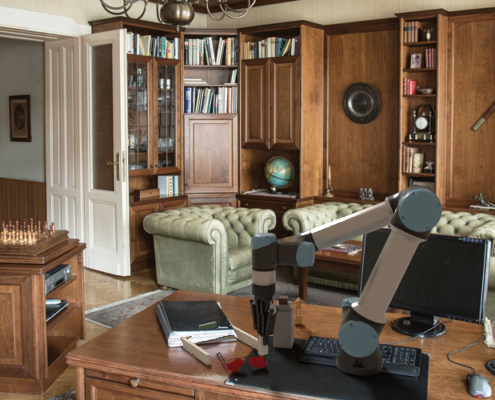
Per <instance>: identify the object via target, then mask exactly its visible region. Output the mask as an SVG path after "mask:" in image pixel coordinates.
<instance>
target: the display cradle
mask: <svg viewBox="0 0 495 400" xmlns="http://www.w3.org/2000/svg"><path fill="white" fill-rule="evenodd" d="M217 324H218V323H217V321H211V322H207V323H202V324H198V330H199V329H200V330H201V329H208V328H214V327H218V326H217ZM231 325H232V326H233V328H234V332H235V333H236V335H237V337H238V339H237V340H239V341H240V342H243V343H244V344H246V345H247V346H250V347H251V348H253V349H254V348H256V349H257V350H258V345H259V343H258V337H255V336H253V335H251V334H250V333H247V332H246V331H244V330H243V329H240V328H239V327H236V326H234V324H231ZM185 336H186V337H183V336H180V337H179V339H180V340H181V341H182V343H183V347H184V348H185V349H186V350H187V351H186V350H185V349H184V348H183V349H184V350H185V351H186V352H188V351H189V352H190V353H189V352H188V353H189V354H191V355H192V354H193V355H192V356H194V357H195V358H196V359H197V360H199V361H201V362H202V363H204V364H205V365H206V366H209V365H211V354H210V353H209V352H207V351H206V350H204V349H203V348H201V347H200V346H198V345H197V344H194V343H192V342H191V341H189V340H188V339H189V338H191V337H192V336H188V335H185ZM180 340H179V341H180ZM256 349H255V350H256Z"/></svg>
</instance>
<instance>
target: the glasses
mask: <svg viewBox="0 0 495 400" xmlns="http://www.w3.org/2000/svg"><path fill="white" fill-rule="evenodd" d="M255 351H256V352H257V353H258V350H257V349H256V348H253V350H252V352H255ZM216 356H220V357H221V360H222V361H223V363H224V365H225V366H226V370H228V371H230V372H232V373H236V372H238V371H239V370H240V368H241V367H243V366H244V364H245V363H246V361H245V360H243V359H246V358H248V362H247V363H248V365H249V366H250V367H254V368H259V369H264V368H265V367H266V365H267V363H268V361H266V360H267V359H266V357H265V355H262V356H261V355H259V354H258V355H251V356H249V357H248V356H243V357H235V358H231V359H229V360H227V362H226V360H225V359H224V357H223V355H222V353H221V352H217V353H216Z"/></svg>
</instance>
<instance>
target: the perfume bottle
mask: <svg viewBox="0 0 495 400" xmlns="http://www.w3.org/2000/svg"><path fill="white" fill-rule="evenodd" d="M291 303H292V300H289V295H279V296H278V300H276V302H275V303H274V307H275V308H278V313H277V315H276V320H275V326H274V332H273V335H272V344H273V345H272V347H273V348H277V349H278V348H279V349H293V345H294V344H295V343H294V342H295V323H294V316H295V306H292V304H291Z"/></svg>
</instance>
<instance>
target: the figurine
mask: <svg viewBox="0 0 495 400" xmlns="http://www.w3.org/2000/svg"><path fill="white" fill-rule="evenodd" d="M293 304H296V305H295V306H294V325H297V326H298V325H301V324H303V320H304V319H303V317H302V315H301V313H302V308H303V306H302V305H301V304H304V305H306V307H307V309H309V305H308V303H307V302H305V301H303V300H301V298H300V297H299V296H298V297H297V298H296V300H294V301H293V302H291V305H293ZM297 310H299V311H297ZM298 313H299V314H298Z"/></svg>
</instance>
